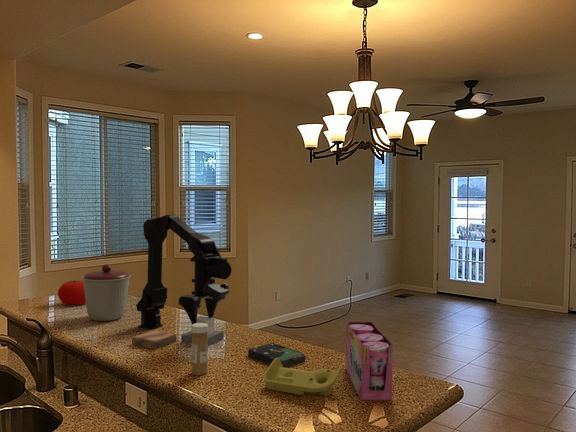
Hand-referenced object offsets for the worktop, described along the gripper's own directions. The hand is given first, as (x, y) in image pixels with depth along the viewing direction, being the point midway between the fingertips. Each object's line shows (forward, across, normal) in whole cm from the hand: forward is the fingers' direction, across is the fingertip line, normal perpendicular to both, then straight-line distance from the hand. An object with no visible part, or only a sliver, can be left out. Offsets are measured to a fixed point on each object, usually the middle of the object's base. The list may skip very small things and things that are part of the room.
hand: (202, 322), depth 167 cm
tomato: (+7, +17, +80) cm, 82 cm away
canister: (+7, +6, +50) cm, 51 cm away
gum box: (+6, -10, -60) cm, 61 cm away
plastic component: (+6, -22, -47) cm, 53 cm away
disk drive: (+7, -4, -30) cm, 31 cm away
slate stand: (+6, 0, 0) cm, 6 cm away
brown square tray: (+6, -10, +12) cm, 17 cm away
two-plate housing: (+4, 0, 0) cm, 4 cm away
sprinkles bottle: (+6, -25, -17) cm, 31 cm away
